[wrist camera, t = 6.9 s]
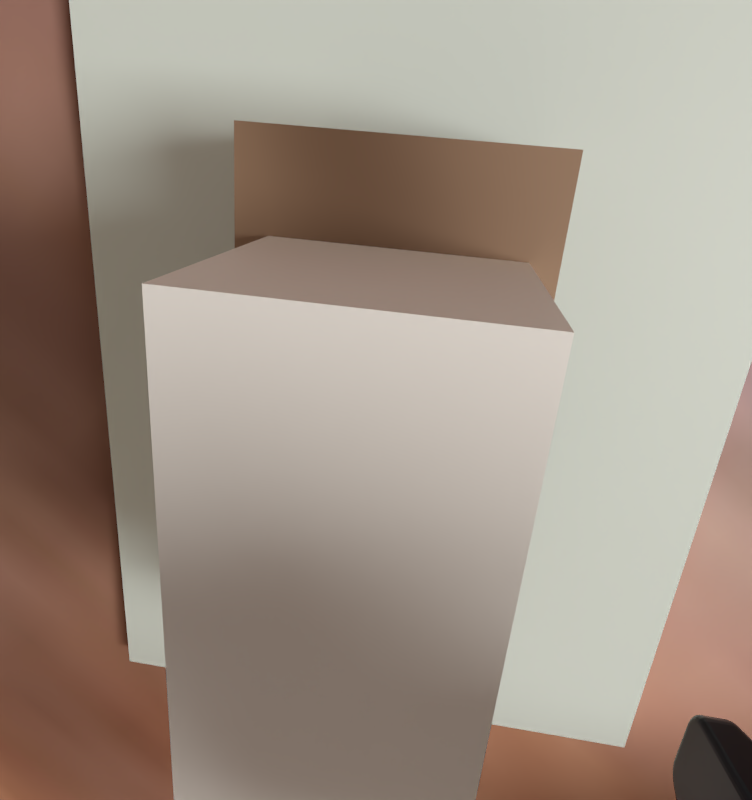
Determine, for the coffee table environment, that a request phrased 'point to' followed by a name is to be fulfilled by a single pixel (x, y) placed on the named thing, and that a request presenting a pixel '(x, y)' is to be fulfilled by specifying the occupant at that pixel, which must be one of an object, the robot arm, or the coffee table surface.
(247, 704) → the lintel
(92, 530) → the coffee table surface
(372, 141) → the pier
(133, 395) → the board
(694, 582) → the coffee table surface
